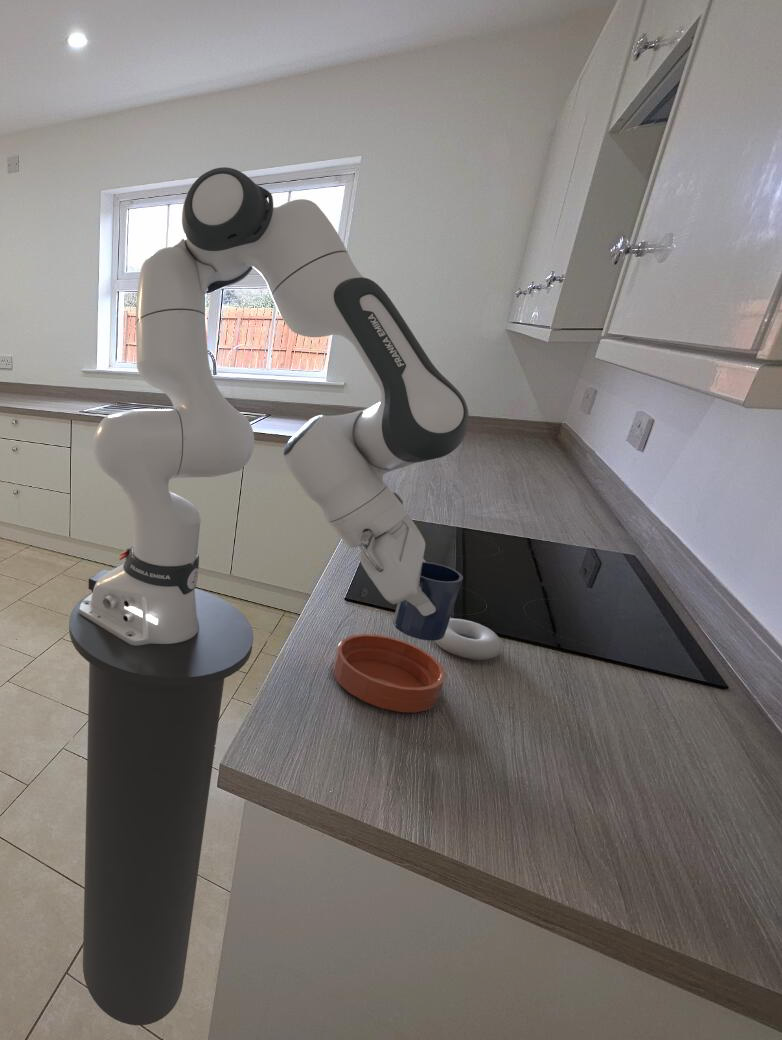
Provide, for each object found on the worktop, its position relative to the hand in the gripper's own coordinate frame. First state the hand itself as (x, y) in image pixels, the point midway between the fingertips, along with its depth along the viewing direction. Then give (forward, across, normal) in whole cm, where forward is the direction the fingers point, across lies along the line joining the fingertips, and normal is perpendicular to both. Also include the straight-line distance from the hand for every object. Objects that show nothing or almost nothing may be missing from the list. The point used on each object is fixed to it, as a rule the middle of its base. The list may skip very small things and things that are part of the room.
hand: (432, 599), depth 78 cm
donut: (+17, +19, +6) cm, 26 cm away
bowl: (+9, 0, +13) cm, 16 cm away
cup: (+3, 0, +4) cm, 5 cm away
